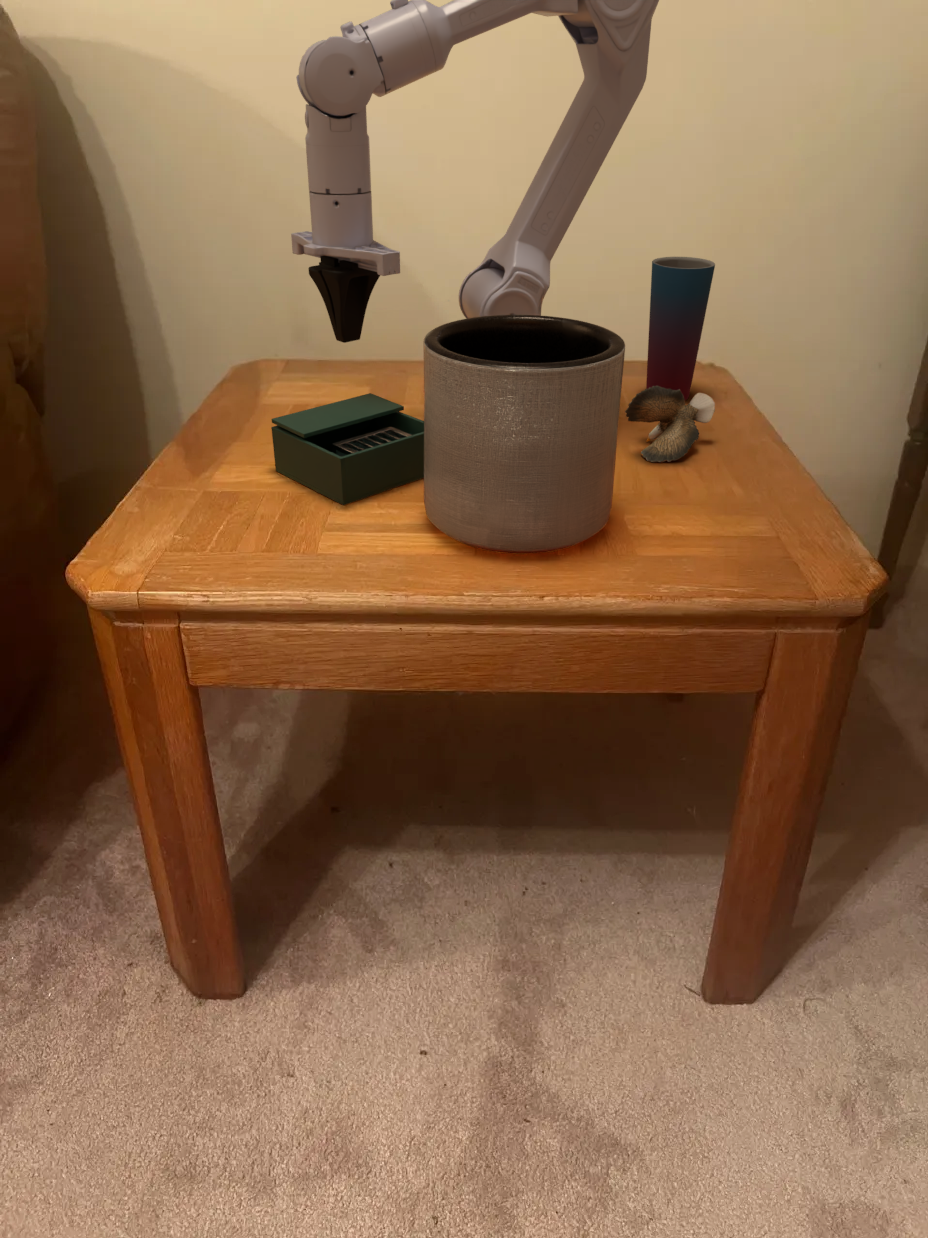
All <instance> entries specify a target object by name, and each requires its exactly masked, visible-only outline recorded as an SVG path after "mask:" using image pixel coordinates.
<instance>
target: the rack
mask: <svg viewBox="0 0 928 1238" xmlns="http://www.w3.org/2000/svg"><path fill="white" fill-rule="evenodd" d="M395 436H396V437H395ZM408 436H411V434H408V433H406V432H403V431H401V430H398V429H396V428H393V427H387V428H384V429H380V430H377V431H374V432H370V433H367V434H363V435H360V436H357V437H353V438H350V439H346V440H343V441H340V442H336V443H333V444H332V447H333V453H334V454H337V455H339V456H341V457H342V456H345V455H349V454H352V453H355V452H359V451H362V450H365V449H368V448H372V447H375V446H378V445H382V444H385V443H388V442H391V441H395V440H398V439H400V438H405V437H408ZM398 437H399V438H398Z"/></svg>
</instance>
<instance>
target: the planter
mask: <svg viewBox="0 0 928 1238" xmlns="http://www.w3.org/2000/svg"><path fill="white" fill-rule="evenodd" d="M422 342H423V421H424V478H423V503H424V510H425V514H426V516H427V519H428V520H429V521H430V522H431V524H432V525H434V527H436V528H437V529H438V530H439V531H440V532H441V533H442V534H445V535H446V536H448V537H450V538H451V539H452V540H455V541H457V542H459V543H461V544H463V545H465V546H469V547H472V548H476V549H478V550H483V551H488V552H494V553H501V554H511V555H512V554H515V555H526V554H527V555H528V554H545V553H550V552H555V551H560V550H564V549H568V548H571V547H574V546H576V545H578V544H580V543H582V542H585V541H587V540H588V539H590V538H592V537H593V536H595V535H596V534H598V532H600V531H602V529H603V528H604V527H605V526H606V525H607V523H608V522H609V519H610V515H611V511H612V506H613V497H614V486H615V475H616V474H615V472H616V461H617V460H616V458H617V457H616V456H617V447H618V436H619V435H618V434H619V422H620V409H621V398H622V389H623V387H622V386H623V378H624V377H623V375H624V366H625V365H624V364H625V355H626V354H625V353H626V343H625V341H624V339H623V338H622V337H621V336H620V335H619V334H617V333H616V332H615V331H612V330H611V329H608V328H607V327H604V326H600V325H598V324H595V323H591V322H588V321H583V320H579V319H573V318H567V317H560V316H551V315H541V316H540V315H493V316H482V317H474V318H467V319H466V318H462V319H457V320H454V321H450V322H447V323H444V324H441V325H439V326H436V327H434V328H433V329H431V330H430V331H428V333H426V335H425V336H424V337H423V341H422Z"/></svg>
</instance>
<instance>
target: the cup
mask: <svg viewBox="0 0 928 1238" xmlns="http://www.w3.org/2000/svg"><path fill="white" fill-rule="evenodd" d="M715 268H716V263H715V262H714V261H712V260H710V259H707V258H701V257H691V256H663V257H657V258H654V259H652V261H651V274H650V275H651V276H650V277H651V278H650V298H649V299H650V301H649V320H648V321H649V322H648V340H647V342H648V343H647V362H646V363H647V365H646V382H645V383H646V384H645V389H649V387H651V388H652V386H660V387H662V388H663V387H664V388H665V389H669V388H670V389H672V390H679V389H680V390H681V392H682V394H683V396H684V399H685V401H687V400H688V399H689V398H690V394H691V390H692V389H691V388H692V383H693V380H694V379H693V378H694V373H695V368H696V364H697V358H698V353H699V349H700V343H701V338H702V333H703V328H704V323H705V318H706V313H707V308H708V304H709V298H710V293H711V288H712V283H713V278H714V273H715Z"/></svg>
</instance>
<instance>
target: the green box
mask: <svg viewBox="0 0 928 1238" xmlns="http://www.w3.org/2000/svg"><path fill="white" fill-rule="evenodd" d="M387 427H393V428H396V429H398V430H401V431H403V432H406V433H408V434H411V436H408V437H405V438H400V439H398V440H395V441H391V442H388V443H385V444H382V445H378V446H375V447H372V448H368V449H365V450H362V451H359V452H355V453H352V454H349V455H345V456H342V457H341V456H339V455H337V454H334V453H333V447H332V444H333V443H336V442H340V441H343V440H346V439H350V438H353V437H357V436H360V435H363V434H367V433H370V432H374V431H377V430H380V429H384V428H387ZM271 437H272V447H273V456H274V466H275V472H277V473H280V474H281V475H282V476H285V477H287V478H289V479H291V480H293V481H295V482H296V483H299V484H300V485H302V486H304V487H307V488H308V489H310V490H312V491H313V492H314V491H315V492H316V493H318V494H320V495H322V496H324V497H326V498H328V499H330V500H332V501H334V502H336V503H337V504H340V505H342V506H346V505H349V504H351V503H354V502H359V501H360V500H363V499H366V498H370V497H372V496H375V495H378V494H381V493H384V492H386V491H387V492H388V491H390V490H392V489H393V490H394V489H395V488H398V487H401V486H404V485H407V484H410V483H414V482H416V481H419V480H422V479H424V420H423V419H420V418H418V417H414V416H412V415H409V414H407V413H405V412H402V411H399V412H395V413H392V414H388V415H384V416H381V417H377V418H374V419H370V420H367V421H363V422H360V423H356V424H352V425H349V426H345V427H342V428H338V429H335V430H331V431H328V432H324V433H321V434H317V435H313V436H310V437H306V438H303V437H301V436H299V435H297V434H295V433H292V432H290V431H288V430H286V429H284V428H282V427H280V426H278V425H274V426H271ZM395 437H396V436H395ZM398 438H399V437H398Z"/></svg>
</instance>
